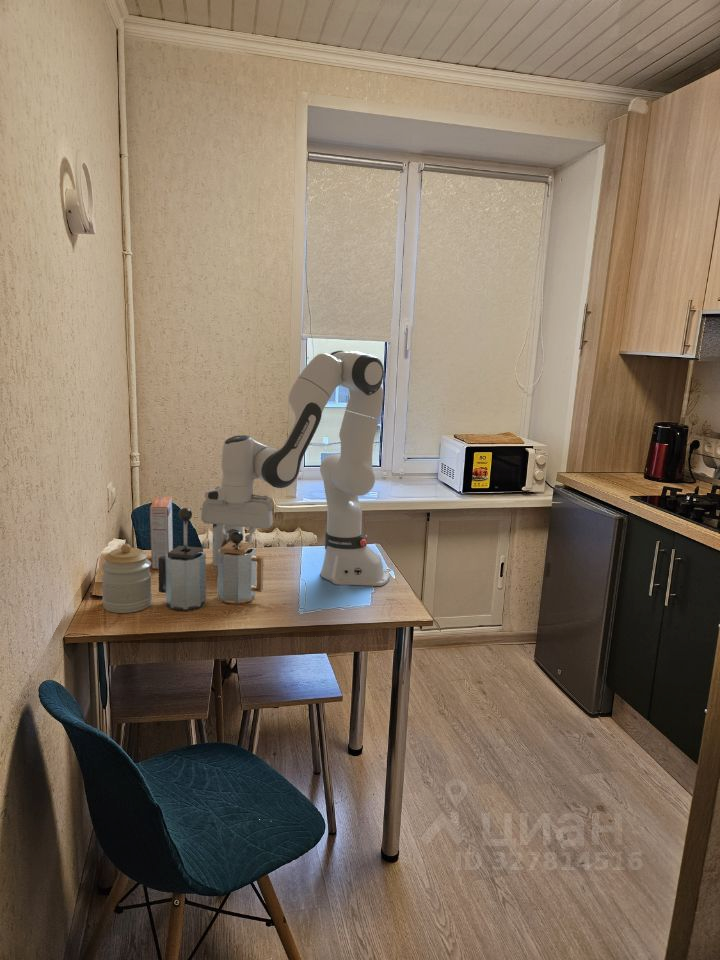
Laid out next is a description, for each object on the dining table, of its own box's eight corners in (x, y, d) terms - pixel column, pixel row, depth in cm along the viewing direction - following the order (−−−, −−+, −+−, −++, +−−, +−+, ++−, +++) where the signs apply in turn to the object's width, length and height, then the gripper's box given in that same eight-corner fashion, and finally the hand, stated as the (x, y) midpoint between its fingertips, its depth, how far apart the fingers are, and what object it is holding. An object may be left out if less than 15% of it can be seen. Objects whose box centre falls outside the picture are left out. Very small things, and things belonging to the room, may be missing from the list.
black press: (210, 598, 191) (210, 546, 188) (196, 612, 181) (195, 557, 178) (168, 594, 193) (168, 542, 190) (152, 607, 183) (151, 553, 180)
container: (211, 559, 225) (211, 502, 221) (240, 558, 228) (241, 501, 224) (214, 569, 216) (214, 509, 212) (244, 567, 219) (245, 508, 215)
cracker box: (155, 555, 226) (154, 496, 222) (173, 555, 227) (172, 496, 223) (150, 569, 213) (149, 506, 209) (169, 569, 214) (168, 506, 210)
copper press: (266, 594, 197) (267, 543, 193) (255, 607, 186) (256, 554, 183) (225, 589, 198) (226, 539, 195) (212, 602, 188) (212, 549, 185)
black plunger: (204, 564, 188) (203, 506, 184) (193, 573, 180) (192, 512, 177) (178, 562, 189) (178, 503, 185) (166, 570, 181) (166, 510, 178)
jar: (158, 597, 190) (157, 538, 187) (142, 615, 178) (141, 552, 174) (113, 595, 191) (111, 536, 187) (94, 612, 178) (92, 549, 174)
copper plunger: (253, 585, 195) (254, 529, 192) (244, 594, 188) (245, 536, 184) (228, 582, 196) (229, 526, 193) (219, 591, 189) (219, 533, 186)
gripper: (276, 493, 188) (275, 540, 191) (207, 488, 191) (207, 534, 194) (269, 498, 182) (268, 547, 185) (199, 492, 185) (199, 540, 188)
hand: (236, 540), depth 189 cm, fingers open, 5 cm apart
